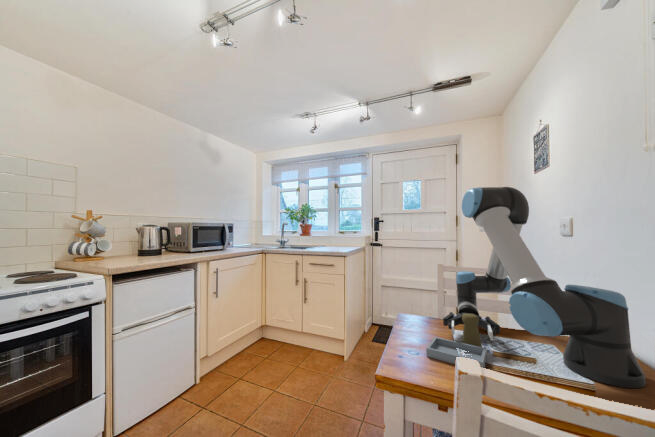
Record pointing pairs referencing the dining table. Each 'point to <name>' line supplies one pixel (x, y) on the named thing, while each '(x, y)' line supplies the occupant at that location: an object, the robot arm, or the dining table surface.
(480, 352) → the trough
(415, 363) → the dining table surface
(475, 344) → the cork
